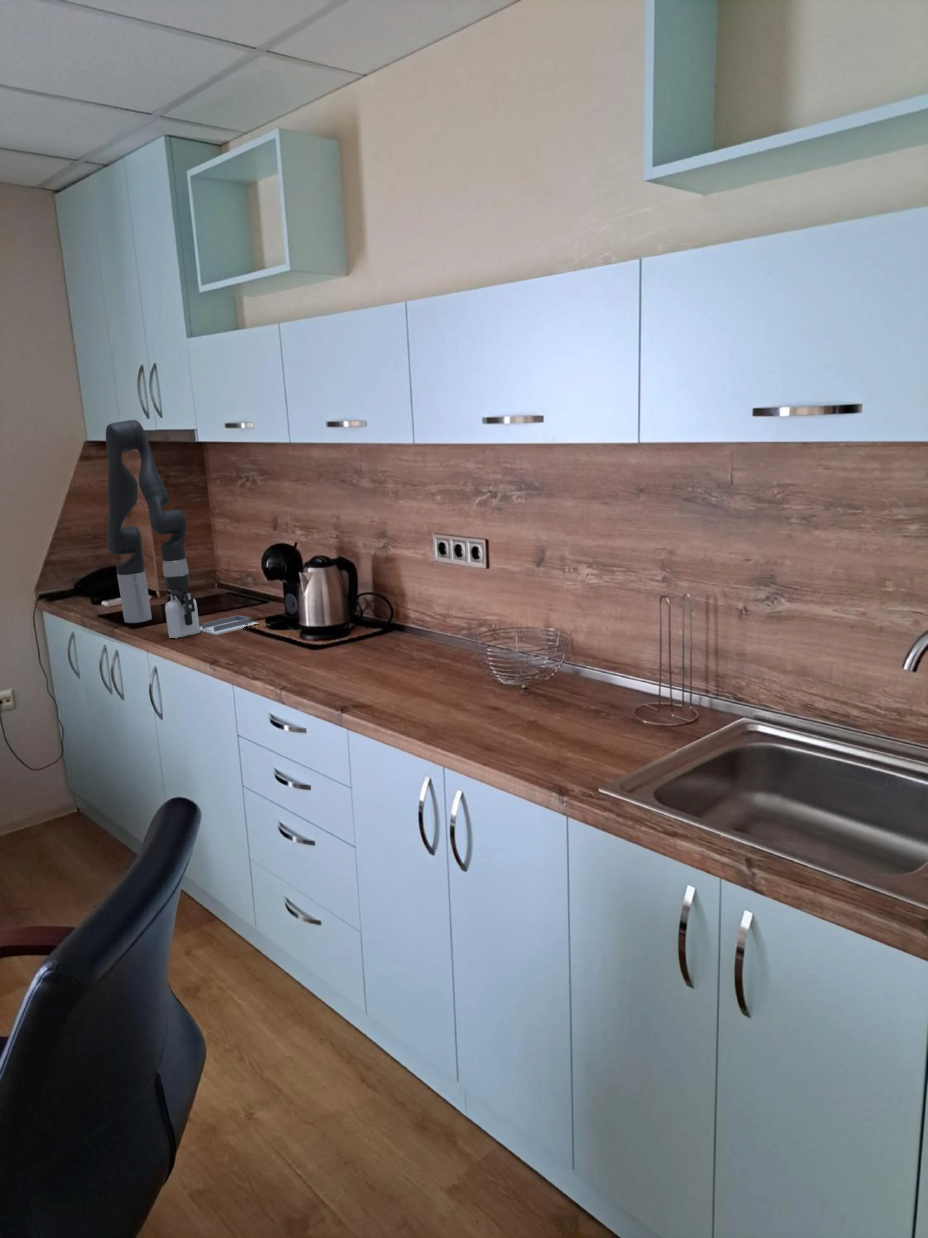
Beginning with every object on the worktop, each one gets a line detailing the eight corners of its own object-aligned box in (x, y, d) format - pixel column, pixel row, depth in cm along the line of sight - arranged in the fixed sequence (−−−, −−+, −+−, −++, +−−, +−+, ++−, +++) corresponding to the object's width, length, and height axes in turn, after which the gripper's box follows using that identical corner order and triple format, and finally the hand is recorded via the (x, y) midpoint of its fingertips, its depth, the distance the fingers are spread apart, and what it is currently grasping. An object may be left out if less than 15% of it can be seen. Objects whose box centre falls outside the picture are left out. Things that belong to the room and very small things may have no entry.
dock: (194, 629, 298) (193, 623, 297) (236, 619, 309) (235, 613, 308) (215, 635, 288) (214, 628, 288) (258, 624, 299) (257, 618, 298)
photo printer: (196, 631, 295) (191, 594, 292) (202, 633, 292) (197, 596, 289) (166, 638, 288) (161, 600, 286) (173, 640, 285) (167, 602, 283)
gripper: (154, 573, 288) (161, 623, 292) (175, 577, 278) (183, 628, 282) (176, 569, 293) (183, 618, 297) (197, 573, 283) (204, 623, 287)
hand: (183, 623), depth 289 cm, fingers open, 7 cm apart
